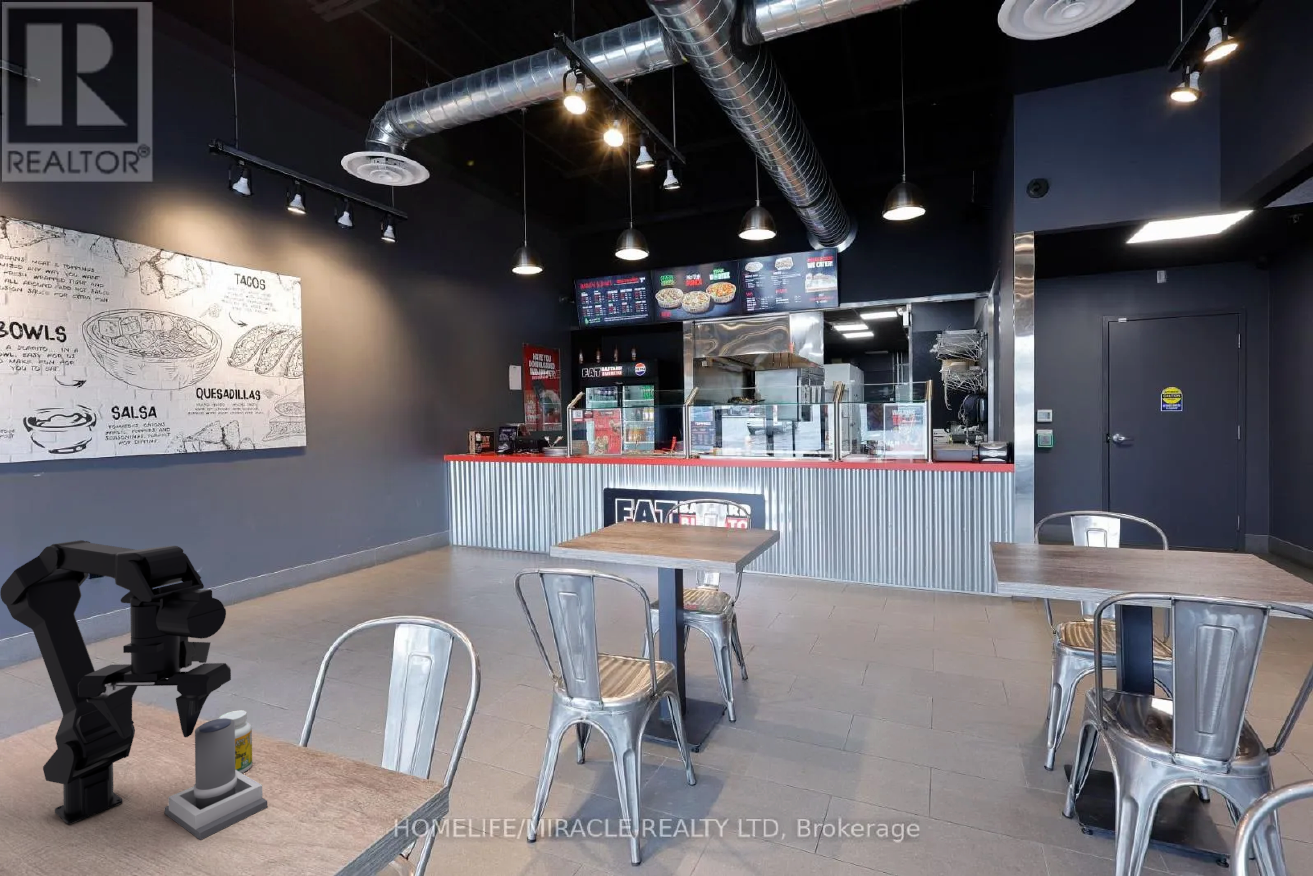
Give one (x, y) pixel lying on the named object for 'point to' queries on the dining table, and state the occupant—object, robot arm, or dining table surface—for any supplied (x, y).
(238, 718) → the supplement bottle
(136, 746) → the dining table surface
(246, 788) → the grey white tray
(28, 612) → the robot arm
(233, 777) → the lens
